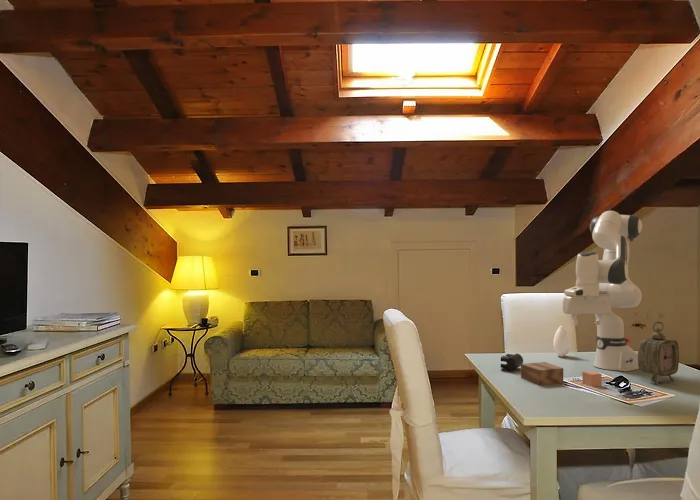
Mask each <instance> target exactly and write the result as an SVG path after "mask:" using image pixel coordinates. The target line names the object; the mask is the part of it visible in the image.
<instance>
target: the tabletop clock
mask: <svg viewBox="0 0 700 500" xmlns="http://www.w3.org/2000/svg"><path fill="white" fill-rule="evenodd" d="M657 324H661V328H659V327H657V328H656V329H655V326H656V325H657ZM664 328H665V327H664V324H663V322H662V321H655V322H654V323H653V325H652V330H653V331H654V332H653V333H652V334H651V336H650V337H649V338H645V339H642V340H640V341H639V342H638V344H637V354H638V367H639V369H638V370H639V371H641V372H643V373H645V374H651V375H652V376H651V377H650V380H651V381H652V382H653V384H654V385H659V381H658V380H657V379H658V378H657V377H658V376H660V377H669V381H670V382H674V381H675V378H674V377H672V375H675V374H676V373H678V370H679V365H680V364H679V363H680V352H679V343H678V341H677V340H674V339H669V338H666V336H665V334H664V333H662V331H663V329H664Z"/></svg>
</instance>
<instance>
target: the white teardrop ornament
mask: <svg viewBox="0 0 700 500" xmlns="http://www.w3.org/2000/svg"><path fill="white" fill-rule="evenodd" d="M570 348H571V339H570V336H569V334H568V331H567V329H566V328H565V326H563V321H561V323H560V326H558V328H557V330H556V331H555V334H554V336H553V349H554V352H555V354H557V356H559V357H561V358H562V357H566V355H568V354H569V351H570Z"/></svg>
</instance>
